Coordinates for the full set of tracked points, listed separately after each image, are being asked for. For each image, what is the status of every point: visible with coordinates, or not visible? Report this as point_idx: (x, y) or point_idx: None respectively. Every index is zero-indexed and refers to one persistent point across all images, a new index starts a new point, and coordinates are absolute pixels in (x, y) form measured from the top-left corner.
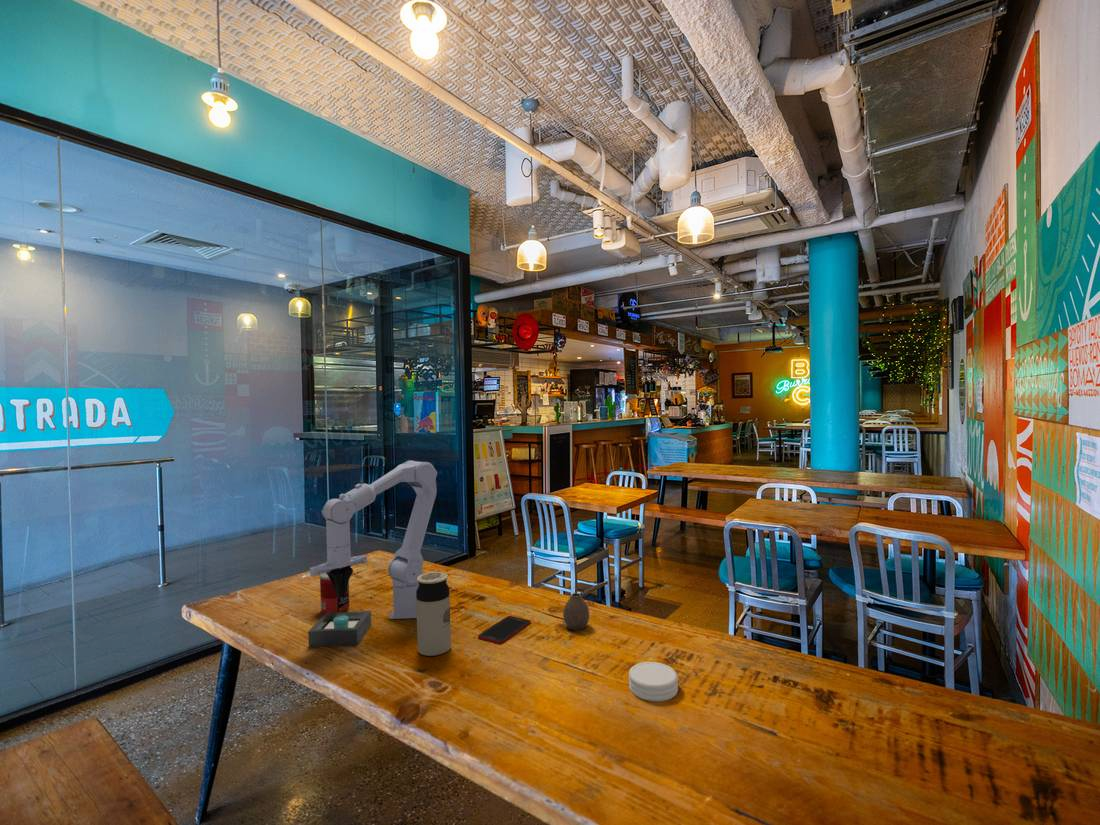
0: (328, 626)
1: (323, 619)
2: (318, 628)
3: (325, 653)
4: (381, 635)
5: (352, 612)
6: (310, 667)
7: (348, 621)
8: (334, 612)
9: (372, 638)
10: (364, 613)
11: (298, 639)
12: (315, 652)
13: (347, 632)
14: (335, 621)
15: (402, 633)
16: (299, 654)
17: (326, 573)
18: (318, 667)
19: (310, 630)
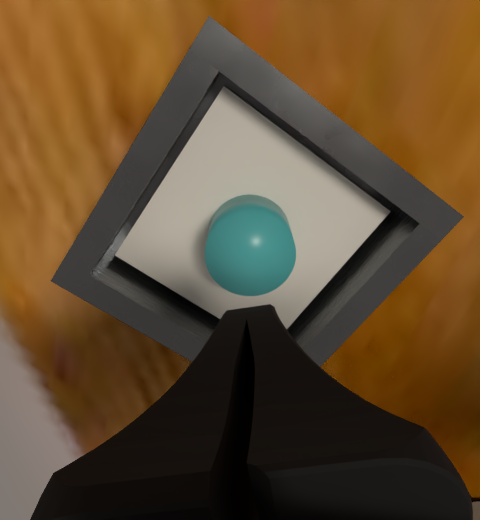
0: (193, 164)
1: (160, 152)
2: (118, 230)
3: (141, 346)
4: (397, 336)
5: (359, 161)
6: (72, 415)
7: (315, 168)
8: (259, 63)
9: (352, 338)
10: (414, 218)
11: (40, 103)
12: (104, 312)
13: None
14: (210, 271)
15: (473, 373)
16: (38, 287)
17: (52, 484)
18: (99, 431)
19: (64, 272)
